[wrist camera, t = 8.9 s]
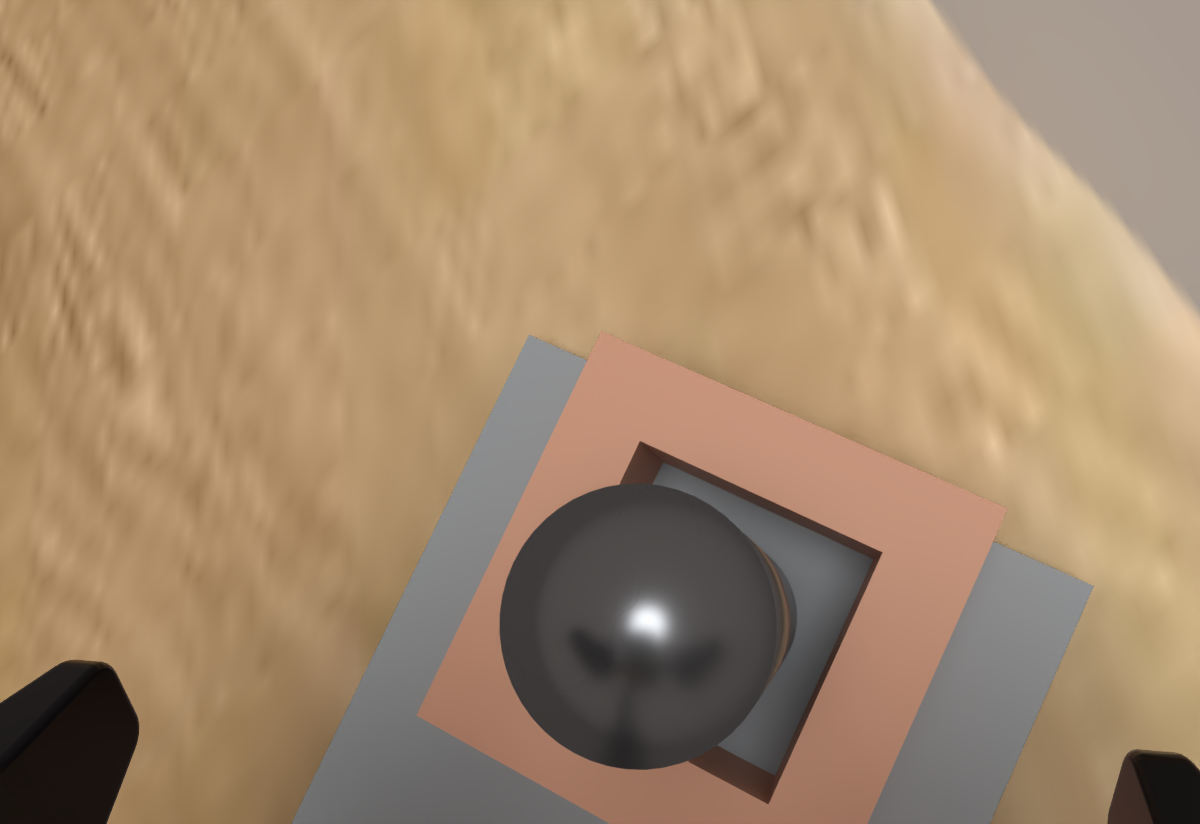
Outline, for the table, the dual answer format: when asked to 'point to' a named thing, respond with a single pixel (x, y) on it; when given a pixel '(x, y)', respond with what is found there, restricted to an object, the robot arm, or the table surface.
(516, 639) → the peg
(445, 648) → the socket base
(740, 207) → the table surface
